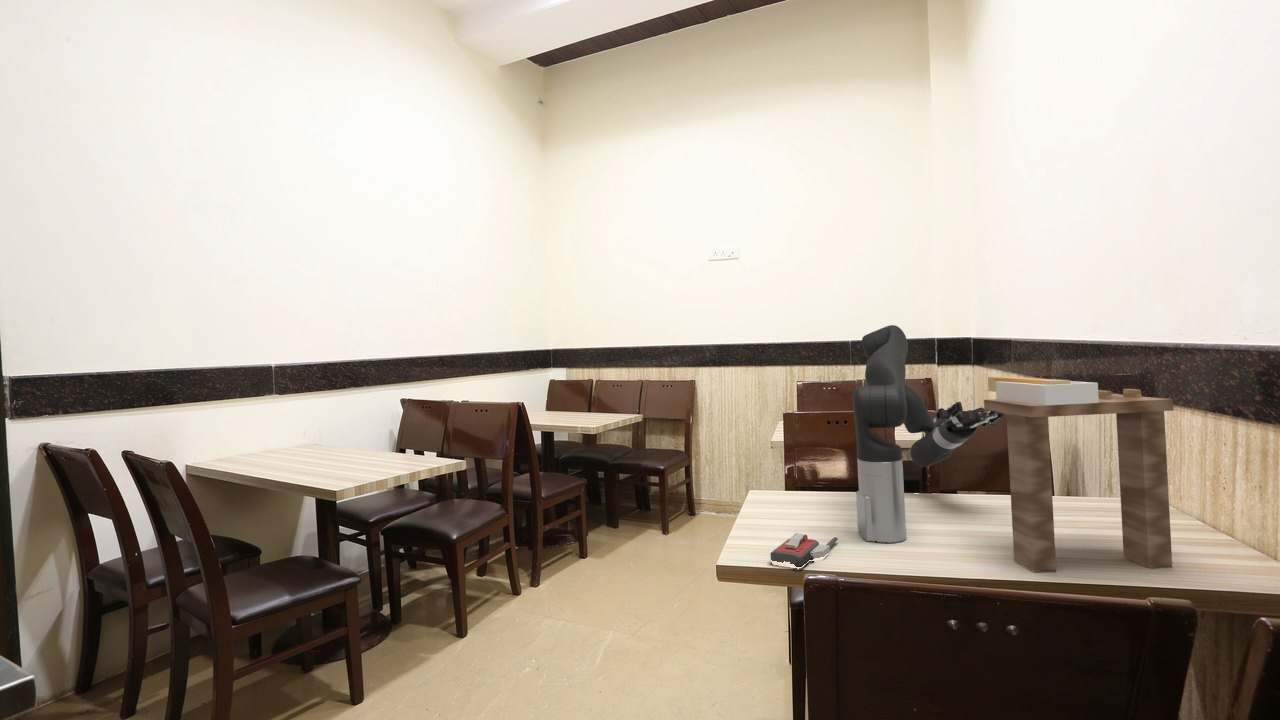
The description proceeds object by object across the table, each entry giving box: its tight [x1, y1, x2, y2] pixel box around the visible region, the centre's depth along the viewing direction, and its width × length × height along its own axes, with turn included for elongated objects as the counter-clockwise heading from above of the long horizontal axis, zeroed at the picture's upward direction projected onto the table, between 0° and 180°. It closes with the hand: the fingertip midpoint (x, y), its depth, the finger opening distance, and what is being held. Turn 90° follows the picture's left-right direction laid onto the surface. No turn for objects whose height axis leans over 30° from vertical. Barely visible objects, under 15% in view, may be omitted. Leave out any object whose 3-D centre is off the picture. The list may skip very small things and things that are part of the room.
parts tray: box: [995, 380, 1099, 405], centre depth 115 cm, size 9×16×4 cm, turn 177°
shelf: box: [983, 388, 1174, 573], centre depth 114 cm, size 24×16×32 cm, turn 88°
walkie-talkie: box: [770, 532, 839, 567], centre depth 125 cm, size 9×4×20 cm
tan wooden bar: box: [987, 375, 1072, 393], centre depth 120 cm, size 3×22×3 cm, turn 177°
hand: (980, 405), depth 138 cm, fingers open, 8 cm apart
